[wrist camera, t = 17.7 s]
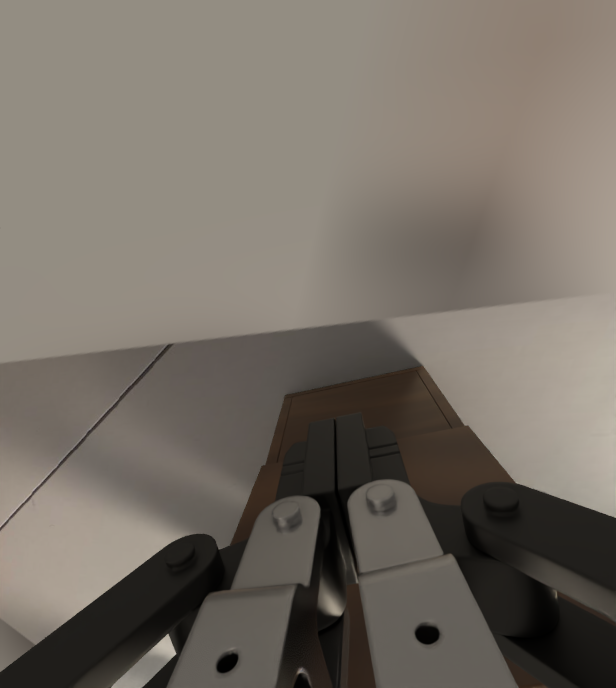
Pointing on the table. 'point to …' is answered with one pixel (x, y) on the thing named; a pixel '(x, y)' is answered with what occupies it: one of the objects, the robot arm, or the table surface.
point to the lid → (430, 484)
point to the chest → (367, 408)
